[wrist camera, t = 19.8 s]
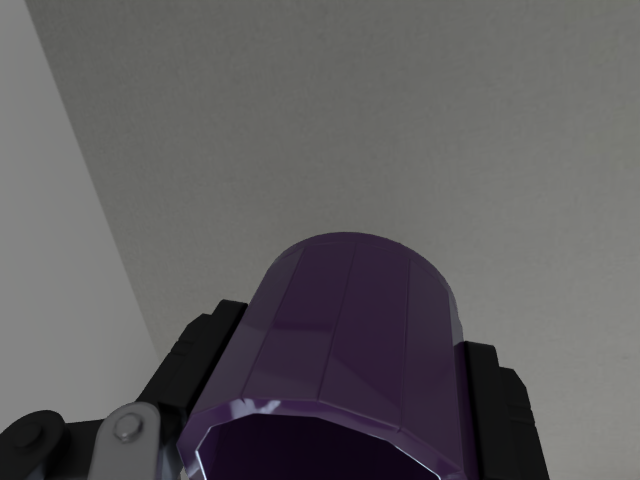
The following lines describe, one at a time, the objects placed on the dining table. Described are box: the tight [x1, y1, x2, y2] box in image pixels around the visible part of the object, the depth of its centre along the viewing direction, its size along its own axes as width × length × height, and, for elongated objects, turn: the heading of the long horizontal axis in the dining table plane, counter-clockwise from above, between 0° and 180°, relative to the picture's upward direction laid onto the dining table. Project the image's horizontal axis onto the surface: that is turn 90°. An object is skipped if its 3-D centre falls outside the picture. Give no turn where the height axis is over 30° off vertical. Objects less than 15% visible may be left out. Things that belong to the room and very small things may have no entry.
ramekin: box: [176, 232, 480, 480], centre depth 10 cm, size 6×6×5 cm
